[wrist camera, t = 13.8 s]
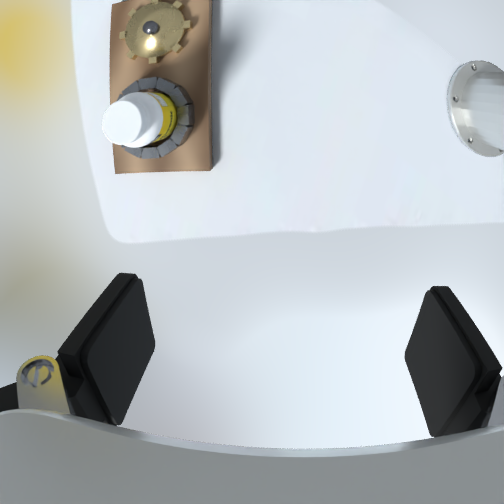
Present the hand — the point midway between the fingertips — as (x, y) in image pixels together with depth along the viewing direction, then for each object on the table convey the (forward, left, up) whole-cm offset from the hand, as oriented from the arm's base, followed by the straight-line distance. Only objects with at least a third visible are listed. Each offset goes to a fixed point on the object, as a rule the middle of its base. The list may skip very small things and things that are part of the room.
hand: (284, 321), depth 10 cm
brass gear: (+14, -16, -27) cm, 34 cm away
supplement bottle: (+14, -6, -27) cm, 31 cm away
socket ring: (+14, -5, -27) cm, 31 cm away
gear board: (+14, -10, -28) cm, 33 cm away
